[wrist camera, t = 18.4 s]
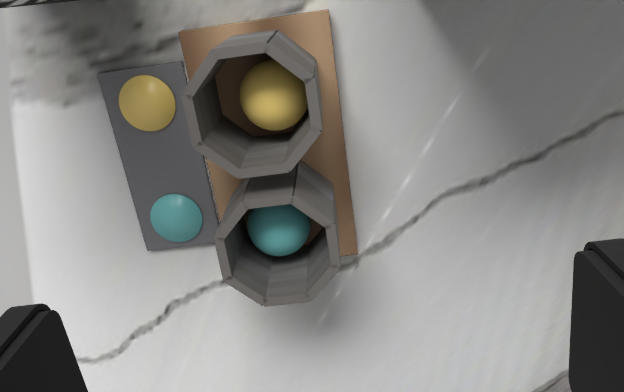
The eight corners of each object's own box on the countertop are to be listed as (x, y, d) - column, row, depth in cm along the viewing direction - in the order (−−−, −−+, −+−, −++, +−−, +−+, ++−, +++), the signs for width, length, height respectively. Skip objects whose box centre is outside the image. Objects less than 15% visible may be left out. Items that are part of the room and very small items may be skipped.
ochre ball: (289, 51, 37) (315, 56, 33) (298, 115, 39) (324, 127, 35) (225, 64, 36) (244, 70, 32) (238, 130, 37) (258, 144, 33)
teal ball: (310, 180, 39) (299, 209, 35) (318, 233, 41) (309, 267, 37) (250, 184, 40) (234, 213, 36) (261, 236, 42) (247, 269, 38)
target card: (182, 61, 38) (180, 62, 37) (222, 239, 43) (220, 243, 42) (99, 72, 38) (96, 74, 38) (148, 248, 43) (146, 251, 43)
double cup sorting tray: (328, 9, 36) (329, 18, 29) (356, 246, 43) (364, 304, 35) (182, 30, 37) (146, 44, 29) (233, 261, 44) (214, 321, 36)
